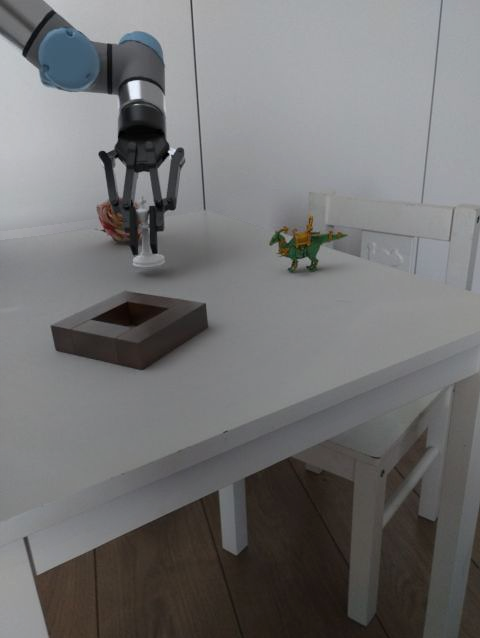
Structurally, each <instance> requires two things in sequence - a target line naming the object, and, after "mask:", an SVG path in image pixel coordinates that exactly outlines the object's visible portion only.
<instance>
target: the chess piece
mask: <svg viewBox="0 0 480 638" xmlns="http://www.w3.org/2000/svg"><path fill="white" fill-rule="evenodd" d="M136 202H137V205H140V206H139V207H140V208H139V209H137V210H136V213H137V215H138V217H139V220H140V222H141V223H140V224H139V225H138V227H137V228H139V229H142V234H141V251H140V252H139V254H138V255H135V257H133V258H132V266H134V267H136V268H154V267H159V266H161V265H164V264H165V263H166V259H165V256H164V255H163V254H160V253H158V254H152V250H151V247H150V230H149V229H150V226H149V207H148V208H147V207H145V204H146V203H147V199H144V195H138V200H137V201H136Z"/></svg>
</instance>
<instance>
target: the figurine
mask: <svg viewBox="0 0 480 638" xmlns="http://www.w3.org/2000/svg"><path fill="white" fill-rule="evenodd" d="M307 222H308V223H306V224H305V229H306V230H305V231H302V232H299V233H296V232H298V228H293V229H291V233H292V235H293V236H292V238H291V239H290V240H289V241H288V242H287V241H286V238H285V236H284V235H285V234H288V231H289V229H290V227H287V225H283V227H282V228H280V229H279V230H277V229H275V230H274V234H273V235H272V236H271V239H270V241H269V244H268V246H270V247H272V246H274V245H275V244H277V243H278V249H277V251H278V252H275V254H276V255H277V257H279V258H282V257H284V258H287V259H290V260H291V264H290V265H291V266H290V267H288V268H287V269H286V270H287V271H288V272H289V273H290V274H293V273H295V272H296V269H298V266H299V260H304V259H305V258H308V259H309V260H310V265H306V266H305V267H306V269H308V271H309V272H311V273H312V272H314V271H317V270H318V268H317V266H318V264H319V261H320V260H319V259H318V258H317V255H318V252H319V251H320V248H321V246H322V245H323V244H327V243H331V242H333V241H336V240H341V239H343V238H346V237H348V235H349V234H347V233H343V232H342V231H337V233H336V234H334V233H335V231H334V230H332V229H329V230H328V233H326V232H323V233H321V232H322V230H320V231H313V230H314V227H313V222H314V216H313V215H312V214H311V215H309V216H308V221H307ZM281 233H284V235H282V234H281Z"/></svg>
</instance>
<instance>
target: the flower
mask: <svg viewBox="0 0 480 638" xmlns="http://www.w3.org/2000/svg"><path fill="white" fill-rule="evenodd" d="M122 198H123V197H121V196H119V200H121V201H122ZM134 207H135V209H136V210H137V209H139V208H140V205H137V201H134ZM95 208H96V212H97V215H98V220H99V222H100V224H101V226H102V228H103V229H99V228H94V230H96V231H101V232H103V233H106V236H110V237H111V238H112V240H113V241H114V244H113V245H114V246H115V245H116V243H118V242H119V241H124V239H125V240H126V241H128V239H130V233H125V231H124V228H123V226H122V213H114V212H113V210H112V207H111V204H110V201H109V198H107V200H105V201H103V202H102V203H100V204H97V205H96V207H95ZM137 216H138V215H137ZM140 223H141V222H140V220H139V217H138V225H139V224H140ZM141 237H142V229H139V228H138V240H140V238H141Z"/></svg>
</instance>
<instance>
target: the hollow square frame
mask: <svg viewBox="0 0 480 638" xmlns="http://www.w3.org/2000/svg"><path fill="white" fill-rule="evenodd" d="M131 325H132V326H135V327H131ZM207 328H209V320H208V309H207V303H206V302H201V301H195V300H189V299H188V300H187V299H182V298H175V297H169V296H162V295H155V294H150V293H141V292H135V291H130V290H129V291H128V290H123V291H120V292H119V293H117V294H115V295H112V296H110V297H107V298H106V299H103V300H101V301H100V302H97V303H96V304H94V305H91V306H89V307H86V308H84V309H83V310H80V311H78V312H76V313H74V314H72V315H69V316H67V317H65V318H63V319H61V320H59V321H56V322H54V323H53V324H50V331H51V336H52V341H53V344H54V348H55V351H57V352H61V353H67V354H71V355H75V356H80V357H84V358H89V359H94V360H97V361H98V360H99V361H102V362H105V363H110V364H116V365H119V366H124V367H129V368H132V369H137V370H142V371H143V370H144V369H146V368H147V367H149V366H150V365H152V364H153V363H155V362H156V361H158V360H160V359H161V358H162V357H164V356H166V355H167V354H169V353H170V352H172V351H173V350H174V349H176V348H178V347H180V346H181V345H183V344H184V343H186V342H187V341H188V340H190V339H192V338H193V337H195V336H196V335H198V334H200V333H201V332H202V331H204V330H206V329H207Z"/></svg>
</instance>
